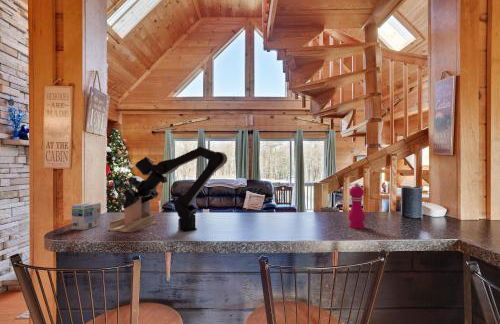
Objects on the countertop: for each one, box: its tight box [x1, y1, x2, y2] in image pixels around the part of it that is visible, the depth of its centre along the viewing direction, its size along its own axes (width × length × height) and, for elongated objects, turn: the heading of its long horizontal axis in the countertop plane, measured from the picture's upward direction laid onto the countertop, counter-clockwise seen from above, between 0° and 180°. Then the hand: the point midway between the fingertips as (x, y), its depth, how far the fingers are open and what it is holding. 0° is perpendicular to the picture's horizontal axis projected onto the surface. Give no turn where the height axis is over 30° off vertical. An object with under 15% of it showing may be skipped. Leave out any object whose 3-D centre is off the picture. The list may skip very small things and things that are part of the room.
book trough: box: [107, 200, 157, 233], centre depth 130 cm, size 12×18×11 cm, turn 165°
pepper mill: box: [347, 182, 366, 230], centre depth 128 cm, size 7×7×20 cm
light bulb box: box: [71, 201, 102, 231], centre depth 129 cm, size 11×7×11 cm, turn 168°
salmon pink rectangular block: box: [124, 196, 141, 226], centre depth 130 cm, size 4×6×14 cm, turn 165°
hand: (130, 206), depth 130 cm, fingers open, 9 cm apart
